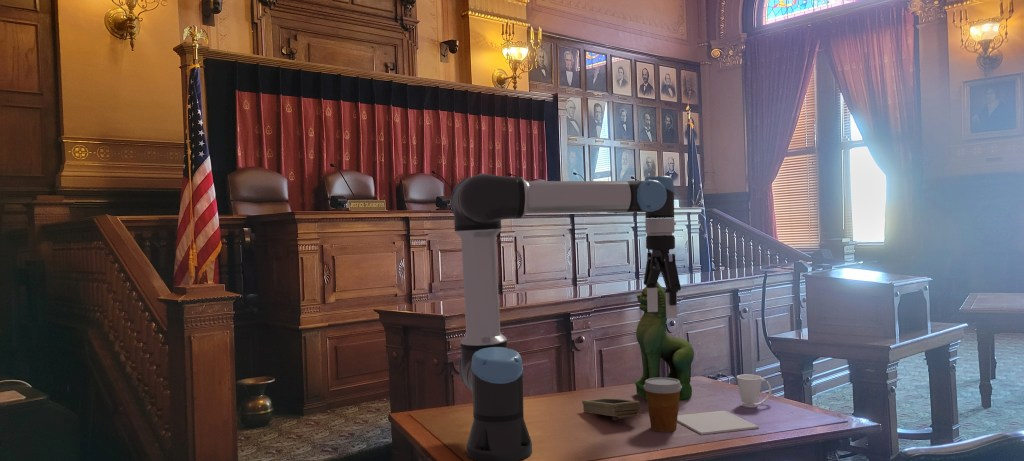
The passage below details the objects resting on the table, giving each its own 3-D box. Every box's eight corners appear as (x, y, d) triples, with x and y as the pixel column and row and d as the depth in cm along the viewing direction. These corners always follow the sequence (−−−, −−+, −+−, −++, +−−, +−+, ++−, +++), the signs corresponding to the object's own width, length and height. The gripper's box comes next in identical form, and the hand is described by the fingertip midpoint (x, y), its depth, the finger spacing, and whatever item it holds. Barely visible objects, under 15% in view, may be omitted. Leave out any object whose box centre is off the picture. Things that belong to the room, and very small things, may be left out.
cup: (732, 403, 205) (731, 374, 205) (765, 400, 206) (764, 372, 206) (743, 409, 198) (743, 380, 198) (777, 407, 199) (777, 377, 199)
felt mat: (701, 434, 176) (701, 432, 176) (670, 418, 191) (670, 416, 191) (758, 428, 180) (758, 426, 180) (724, 412, 195) (724, 410, 195)
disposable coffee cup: (639, 431, 180) (638, 383, 180) (650, 421, 188) (649, 375, 188) (677, 435, 176) (676, 386, 175) (687, 425, 184) (686, 378, 184)
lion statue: (631, 393, 219) (628, 279, 219) (682, 390, 222) (679, 277, 222) (646, 404, 206) (643, 282, 205) (701, 400, 209) (698, 280, 208)
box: (615, 424, 182) (613, 404, 183) (576, 418, 203) (574, 399, 203) (643, 420, 185) (641, 400, 186) (602, 415, 206) (600, 397, 206)
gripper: (693, 234, 179) (694, 320, 179) (656, 233, 203) (658, 308, 203) (664, 235, 177) (666, 321, 177) (631, 234, 202) (632, 309, 202)
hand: (661, 314), depth 190 cm, fingers open, 13 cm apart
